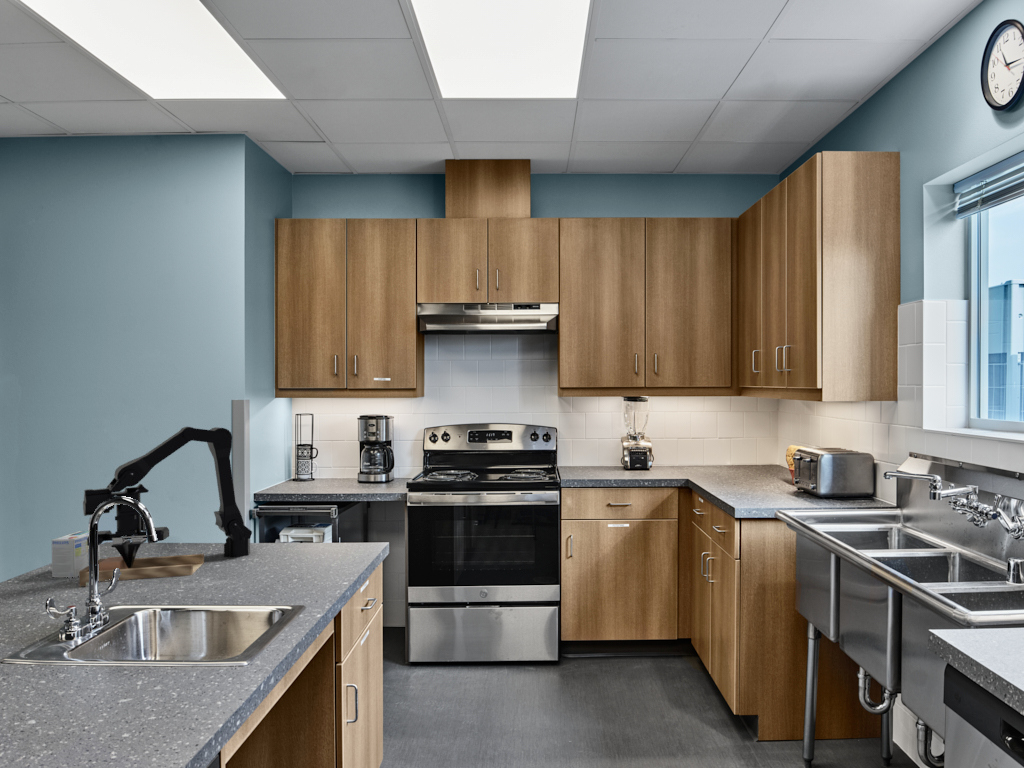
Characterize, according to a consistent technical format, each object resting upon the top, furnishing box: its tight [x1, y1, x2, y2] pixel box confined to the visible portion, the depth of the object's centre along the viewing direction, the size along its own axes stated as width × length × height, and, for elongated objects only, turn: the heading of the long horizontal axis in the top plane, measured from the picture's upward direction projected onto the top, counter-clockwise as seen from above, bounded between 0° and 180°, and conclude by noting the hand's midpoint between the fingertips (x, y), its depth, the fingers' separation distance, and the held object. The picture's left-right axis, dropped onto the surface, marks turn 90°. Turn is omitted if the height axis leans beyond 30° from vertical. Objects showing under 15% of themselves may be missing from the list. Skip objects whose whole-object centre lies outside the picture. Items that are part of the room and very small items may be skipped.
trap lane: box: [78, 553, 205, 588], centre depth 176 cm, size 27×13×4 cm, turn 102°
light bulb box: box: [51, 530, 101, 579], centre depth 181 cm, size 11×7×11 cm, turn 178°
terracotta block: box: [99, 556, 128, 571], centre depth 175 cm, size 5×6×4 cm
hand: (129, 567), depth 176 cm, fingers closed
